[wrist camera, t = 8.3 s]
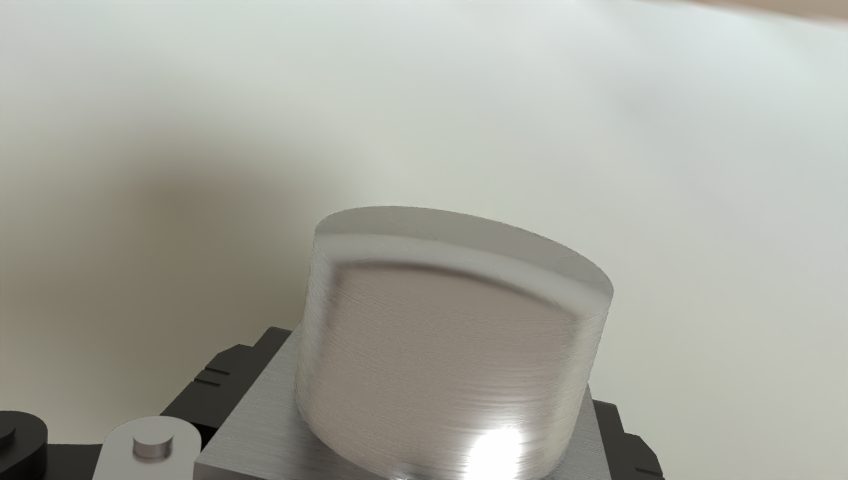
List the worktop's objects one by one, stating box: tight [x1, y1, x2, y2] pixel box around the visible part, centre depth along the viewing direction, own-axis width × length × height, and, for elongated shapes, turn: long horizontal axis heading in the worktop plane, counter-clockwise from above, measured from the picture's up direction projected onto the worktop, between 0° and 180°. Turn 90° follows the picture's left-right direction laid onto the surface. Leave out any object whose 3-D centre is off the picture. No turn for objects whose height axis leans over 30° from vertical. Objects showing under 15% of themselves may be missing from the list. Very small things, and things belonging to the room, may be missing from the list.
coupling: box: [193, 206, 614, 480], centre depth 11 cm, size 5×8×5 cm
